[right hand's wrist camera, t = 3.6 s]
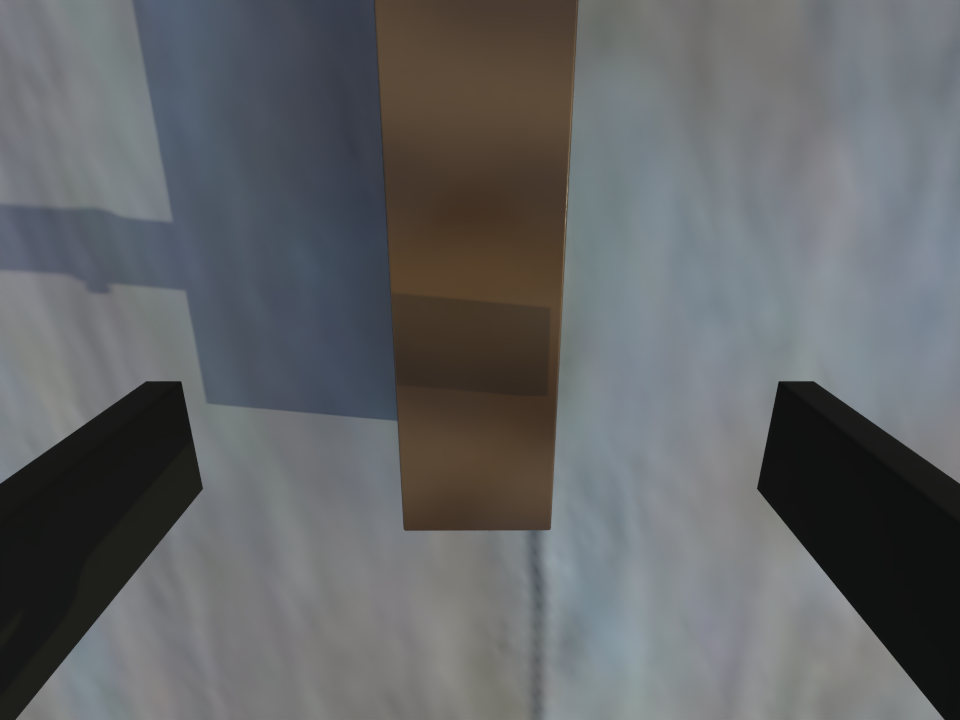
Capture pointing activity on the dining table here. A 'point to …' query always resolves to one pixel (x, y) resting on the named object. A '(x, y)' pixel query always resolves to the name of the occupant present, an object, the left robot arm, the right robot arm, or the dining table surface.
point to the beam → (476, 250)
